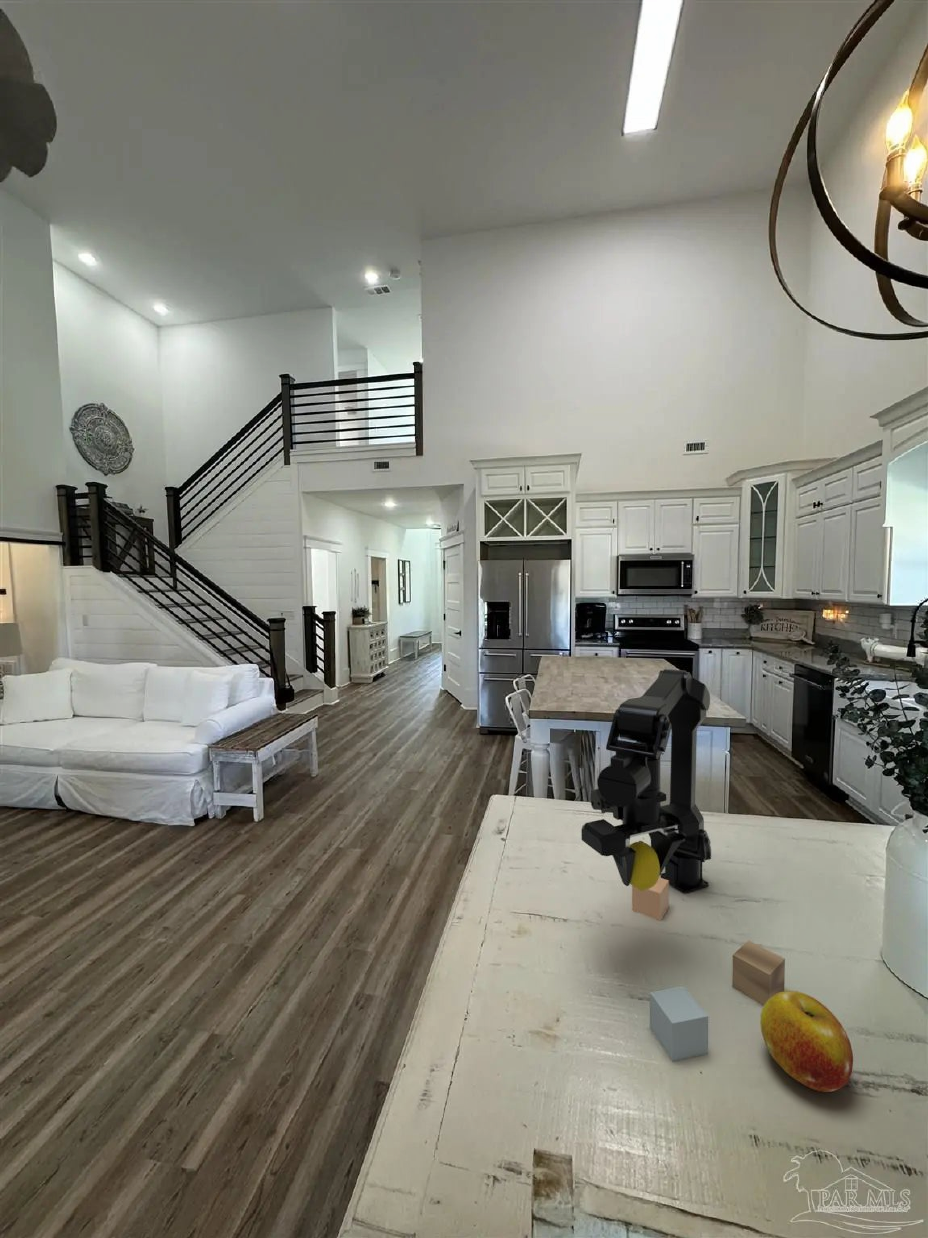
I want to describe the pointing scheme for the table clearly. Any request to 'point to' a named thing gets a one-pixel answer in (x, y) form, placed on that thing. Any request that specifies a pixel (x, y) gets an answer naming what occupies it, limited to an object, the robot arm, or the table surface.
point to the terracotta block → (652, 899)
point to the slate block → (678, 1023)
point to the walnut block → (758, 972)
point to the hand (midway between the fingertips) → (640, 880)
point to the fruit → (807, 1041)
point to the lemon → (644, 866)
